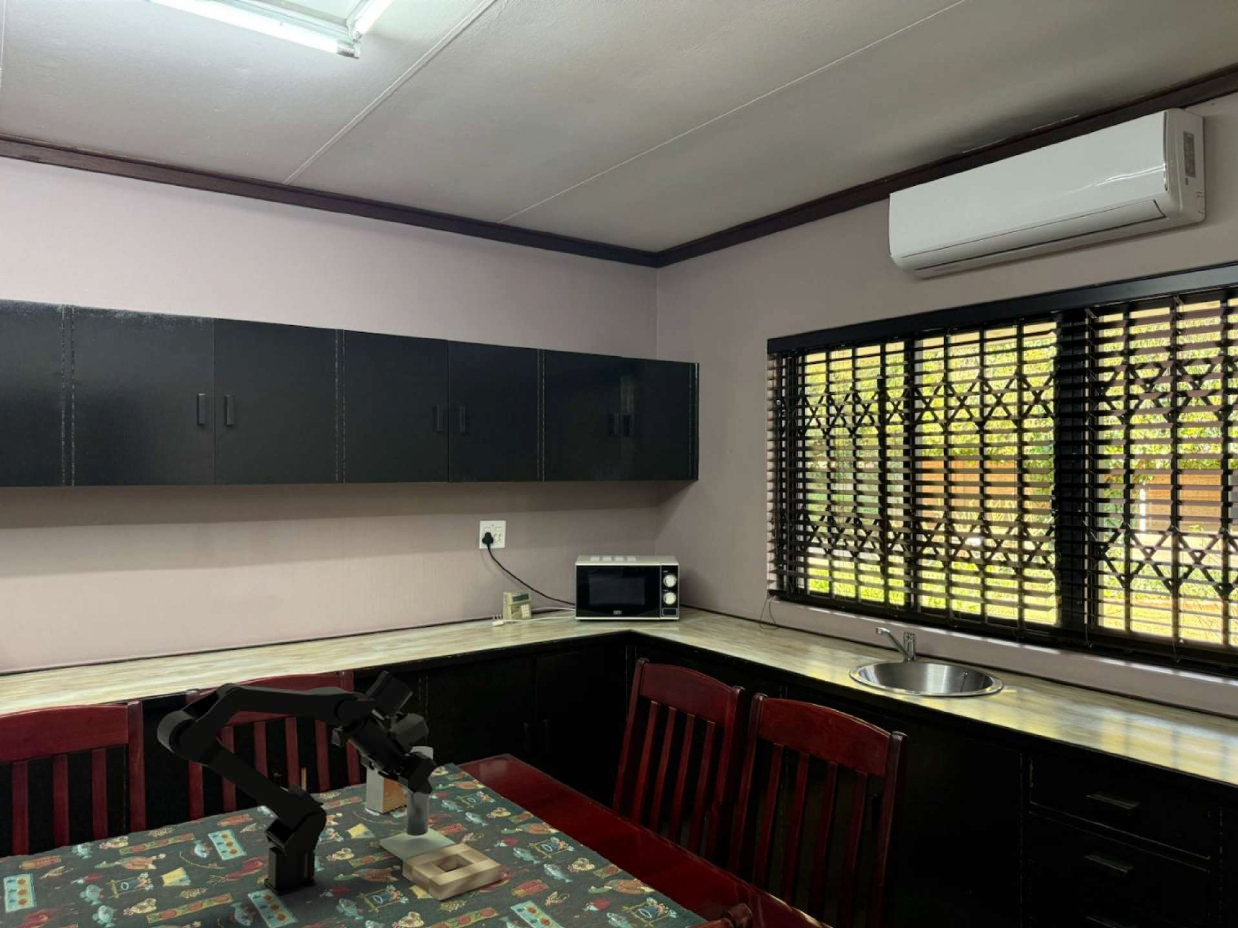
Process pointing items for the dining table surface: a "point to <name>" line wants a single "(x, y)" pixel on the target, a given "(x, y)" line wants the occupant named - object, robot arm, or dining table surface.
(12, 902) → the dining table surface
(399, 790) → the small box
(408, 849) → the pad
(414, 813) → the dome-ended metal peg
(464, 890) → the socket block
